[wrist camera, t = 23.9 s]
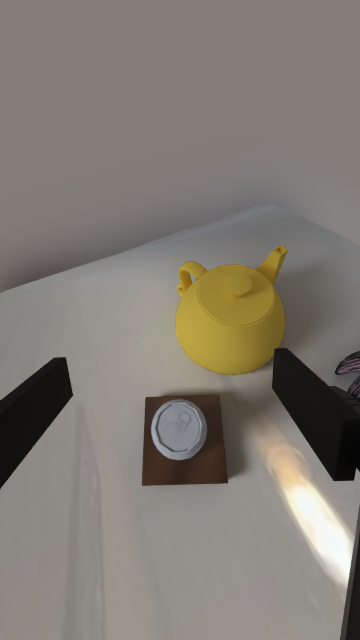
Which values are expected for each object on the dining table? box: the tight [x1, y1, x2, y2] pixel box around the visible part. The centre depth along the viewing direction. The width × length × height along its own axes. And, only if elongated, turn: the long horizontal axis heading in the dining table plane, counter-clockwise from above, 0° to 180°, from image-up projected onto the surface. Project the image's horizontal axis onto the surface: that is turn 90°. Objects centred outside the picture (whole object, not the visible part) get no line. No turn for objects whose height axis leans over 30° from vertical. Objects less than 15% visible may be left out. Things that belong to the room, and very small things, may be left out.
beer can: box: [151, 399, 207, 460], centre depth 25 cm, size 5×5×12 cm
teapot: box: [175, 245, 288, 375], centre depth 36 cm, size 20×19×13 cm
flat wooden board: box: [142, 395, 228, 486], centre depth 31 cm, size 10×10×2 cm
